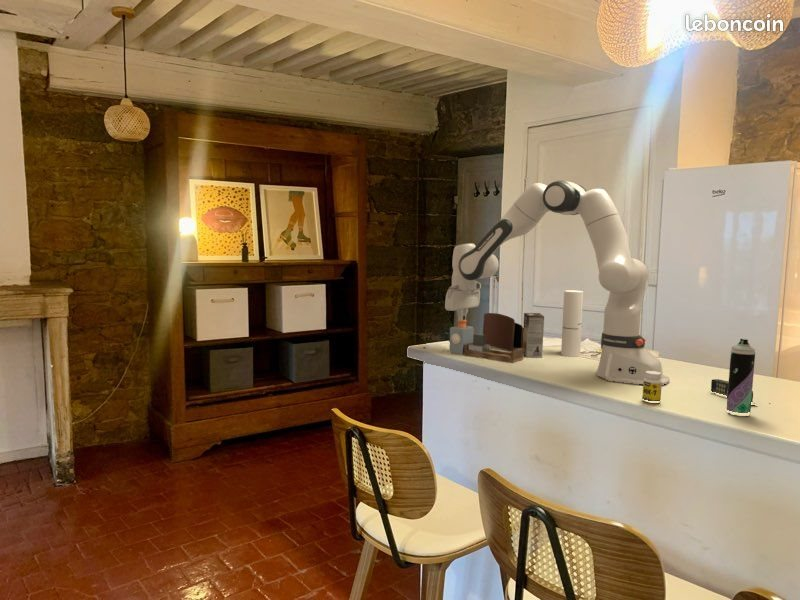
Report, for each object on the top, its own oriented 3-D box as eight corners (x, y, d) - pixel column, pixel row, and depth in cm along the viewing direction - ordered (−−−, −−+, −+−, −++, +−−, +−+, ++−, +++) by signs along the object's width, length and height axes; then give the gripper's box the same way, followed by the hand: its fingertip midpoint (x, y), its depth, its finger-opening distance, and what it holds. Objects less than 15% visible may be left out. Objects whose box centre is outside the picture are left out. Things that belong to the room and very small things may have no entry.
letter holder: (512, 352, 235) (513, 317, 234) (481, 343, 253) (482, 311, 251) (531, 350, 240) (532, 315, 239) (500, 342, 257) (501, 310, 256)
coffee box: (521, 352, 233) (523, 312, 232) (538, 353, 233) (539, 312, 231) (526, 357, 224) (527, 315, 222) (543, 357, 224) (545, 316, 222)
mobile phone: (709, 378, 176) (752, 389, 162) (717, 377, 177) (760, 389, 162) (708, 394, 176) (751, 407, 162) (716, 394, 177) (759, 406, 163)
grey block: (473, 352, 233) (473, 327, 232) (461, 355, 227) (462, 329, 226) (460, 350, 237) (460, 325, 236) (448, 353, 230) (449, 327, 229)
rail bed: (523, 359, 220) (523, 349, 220) (513, 363, 214) (513, 352, 213) (474, 352, 233) (474, 342, 232) (463, 355, 227) (463, 344, 226)
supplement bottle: (639, 401, 166) (641, 372, 165) (645, 398, 169) (646, 369, 168) (657, 405, 163) (659, 375, 162) (662, 401, 166) (664, 372, 165)
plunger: (468, 337, 232) (468, 320, 231) (463, 338, 229) (463, 321, 228) (460, 335, 234) (460, 319, 233) (455, 337, 231) (455, 320, 230)
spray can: (727, 415, 154) (733, 339, 152) (724, 409, 159) (730, 336, 157) (751, 418, 152) (758, 341, 150) (747, 412, 157) (754, 338, 155)
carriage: (489, 352, 227) (490, 334, 227) (482, 354, 223) (482, 336, 222) (476, 350, 231) (476, 332, 230) (468, 352, 226) (468, 334, 226)
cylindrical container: (584, 355, 230) (587, 291, 227) (571, 357, 226) (575, 292, 223) (569, 352, 236) (572, 290, 233) (557, 354, 232) (560, 290, 229)
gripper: (455, 287, 219) (454, 323, 220) (483, 284, 235) (482, 318, 237) (441, 285, 223) (440, 322, 224) (469, 283, 239) (468, 316, 240)
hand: (462, 320), depth 231 cm, fingers closed, pressing on plunger
